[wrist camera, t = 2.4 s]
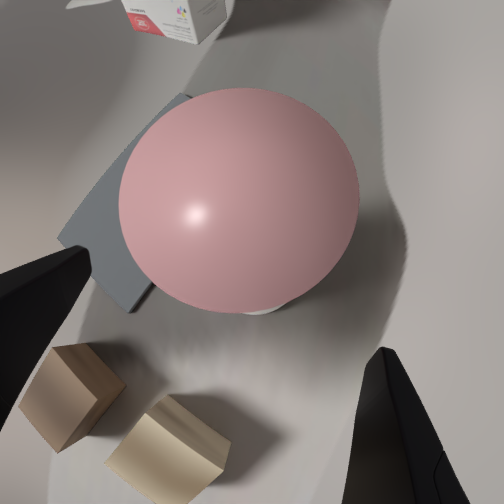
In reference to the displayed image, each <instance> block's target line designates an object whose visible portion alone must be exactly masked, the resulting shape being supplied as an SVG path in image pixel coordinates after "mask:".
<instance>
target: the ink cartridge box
mask: <svg viewBox="0 0 504 504" xmlns="http://www.w3.org/2000/svg"><path fill="white" fill-rule="evenodd" d="M122 3H123V5H124V7H125V10H126V12H127V15H128V17H129V19H130V21H131V23H132V26H133V28H134V30H136V31H141V32H146V33H152V34H156V35H161V36H165V37H169V38H173V39H177V40H181V41H185V42H189V43H193V44H196V45H198V44H200V43H201V42H202V41H203V40H204V39H205V38H206V37H207V36H208V35H209V34H210V33H211V32H212V31H213V30H215V29H216V28H217V27H218V26H219V25H220V24H221V23H222V22H223V21H225V20H226V18H227V15H226V7H225V0H122Z"/></svg>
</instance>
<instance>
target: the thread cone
mask: <svg viewBox="0 0 504 504" xmlns="http://www.w3.org/2000/svg"><path fill="white" fill-rule="evenodd" d="M359 200H360V199H359V183H358V178H357V172H356V169H355V166H354V163H353V160H352V157H351V155H350V153H349V151H348V149H347V147H346V145H345V143H344V142H343V140H342V139H341V137H340V136H339V134H338V133H337V132H336V130H335V129H334V128H333V127H332V126H331V125H330V124H329V123H328V122H327V121H326V120H325V119H324V118H323V117H322V116H321V115H319V114H318V113H317V112H316V111H314V110H313V109H311V108H310V107H308V106H307V105H305V104H303V103H301V102H299V101H297V100H295V99H293V98H291V97H288V96H285V95H283V94H280V93H276V92H272V91H268V90H262V89H254V88H232V89H223V90H218V91H213V92H209V93H206V94H203V95H200V96H197V97H194V98H192V99H190V100H188V101H185V102H183V103H182V104H180V105H178V106H176V107H175V108H173V109H171V110H170V111H169V112H167V113H166V114H165V115H163V116H162V117H161V118H160V119H159V120H157V121H156V122H155V123H154V124H153V125H152V126H151V127H150V128H149V129H148V131H147V132H146V133H145V134H144V135H143V136H142V138H141V139H140V141H139V142H138V144H137V145H136V147H135V148H134V150H133V152H132V154H131V156H130V158H129V160H128V162H127V164H126V167H125V170H124V173H123V176H122V181H121V185H120V191H119V219H120V224H121V229H122V233H123V236H124V239H125V242H126V245H127V247H128V249H129V251H130V253H131V255H132V257H133V259H134V260H135V262H136V263H137V264H138V266H139V267H140V269H141V270H142V271H143V273H144V274H145V275H146V276H147V277H148V278H149V279H150V280H151V281H152V282H153V283H154V284H155V285H157V286H158V287H159V288H160V289H162V290H163V291H164V292H166V293H167V294H169V295H171V296H172V297H174V298H176V299H178V300H179V301H181V302H184V303H186V304H189V305H191V306H194V307H197V308H200V309H205V310H209V311H213V312H222V313H245V314H251V315H259V314H266V313H269V312H272V311H274V310H276V309H278V308H280V307H281V306H283V305H284V304H285V303H287V302H289V301H291V300H293V299H295V298H297V297H299V296H301V295H302V294H304V293H305V292H307V291H308V290H309V289H311V288H312V287H314V286H315V285H316V284H318V283H319V282H320V281H321V280H322V279H323V278H324V277H325V276H326V275H327V274H328V273H329V272H330V271H331V270H332V268H333V267H334V266H335V265H336V264H337V262H338V261H339V260H340V258H341V256H342V255H343V253H344V251H345V250H346V248H347V246H348V244H349V242H350V240H351V237H352V235H353V232H354V229H355V225H356V221H357V217H358V210H359Z"/></svg>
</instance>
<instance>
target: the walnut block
mask: <svg viewBox="0 0 504 504" xmlns="http://www.w3.org/2000/svg"><path fill="white" fill-rule="evenodd" d="M125 386H126V384H125V383H124V382H123V381H121V380H120V379H119V378H118V377H117V376H116V375H115V374H114V373H113V372H112V370H111V369H110V368H109V367H108V366H107V365H106V364H105V363H104V362H103V361H102V360H101V359H100V358H99V357H98V356H97V355H96V354H95V353H94V351H93V350H92V349H91V348H90V347H89V346H88V345H87V344H86V343H81V344H74V345H66V346H59V347H52V349H51V350H50V352H49V353H48V355H47V356H46V358H45V360H44V361H43V363H42V365H41V367H40V368H39V370H38V372H37V373H36V375H35V377H34V379H33V380H32V382H31V384H30V386H29V388H28V389H27V391H26V393H25V395H24V397H23V399H22V400H21V402H20V404H19V408H20V409H21V411H22V412H23V413H24V415H25V416H26V417H27V419H28V420H29V421H30V422H31V424H32V425H33V426H34V427H35V428H36V430H37V431H38V432H39V433H40V434H41V436H42V437H43V438H44V439H45V440H46V441H47V443H49V445H50V446H51V447H52V448H53V449H54V450H55V451H56V452H57V454H58V453H59V452H61V451H62V450H64V449H66V448H67V447H69V446H71V445H72V444H74V443H76V442H77V441H79V440H80V439H82V438H84V437H85V436H87V434H88V433H89V432H90V430H91V429H92V428H93V427H94V425H95V424H96V423H97V422H98V420H99V419H100V418H101V417H102V415H103V414H104V413H105V411H106V410H107V409H108V408H109V406H110V405H111V404H112V403H113V401H114V400H115V399H116V398H117V396H118V395H119V394H120V393H121V391H122V390H123V389H124V388H125Z"/></svg>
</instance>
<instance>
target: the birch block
mask: <svg viewBox="0 0 504 504" xmlns="http://www.w3.org/2000/svg"><path fill="white" fill-rule="evenodd" d="M230 446H231V441H229V440H228V439H226V438H225V437H223V436H222V435H220V434H219V433H218V432H216V431H215V430H213V429H212V428H211V427H209V426H208V425H206V424H205V423H204V422H202V421H201V420H200V419H198V418H197V417H196V416H194V415H193V414H192V413H190V412H189V411H188V410H186V409H185V408H184V407H183V406H181V405H180V404H179V403H178V402H176V401H175V400H174V399H173V398H171V397H170V396H169V395H168V394H167V395H166V396H165V397H164V398H163V399H161V400H160V401H159V402H158V403H157V404H155V405H154V406H153V407H152V408H151V409H149V410H148V411H147V412H146V413H145V414H144V415H143V416H142V417H141V419H140V420H139V421H138V422H137V424H136V425H135V426H134V427H133V429H132V430H131V431H130V432H129V433H128V435H127V436H126V437H125V438H124V440H123V441H122V442H121V443H120V444H119V446H118V447H117V448H116V449H115V451H114V452H113V453H112V454H111V455H110V457H109V458H108V459H107V460H106V462H105V463H104V464H105V465H106V466H107V467H109V468H110V469H111V470H112V471H113V472H115V473H116V474H117V475H118V476H119V477H121V478H122V479H123V480H124V481H126V482H127V483H128V484H129V485H131V486H132V487H133V488H135V489H136V490H137V491H139V492H140V493H141V494H143V495H144V496H146V497H147V498H148V499H150V500H151V501H153V502H154V503H156V504H188V503H189V502H190V501H191V500H192V499H193V498H195V497H196V496H197V495H198V494H199V493H200V492H201V491H202V490H204V489H205V488H206V487H207V486H208V485H209V484H210V483H211V482H212V481H213V480H214V479H215V478H217V477H218V476H219V475H220V474H221V473H222V472H223V471H224V468H225V464H226V461H227V457H228V453H229V450H230Z"/></svg>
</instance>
